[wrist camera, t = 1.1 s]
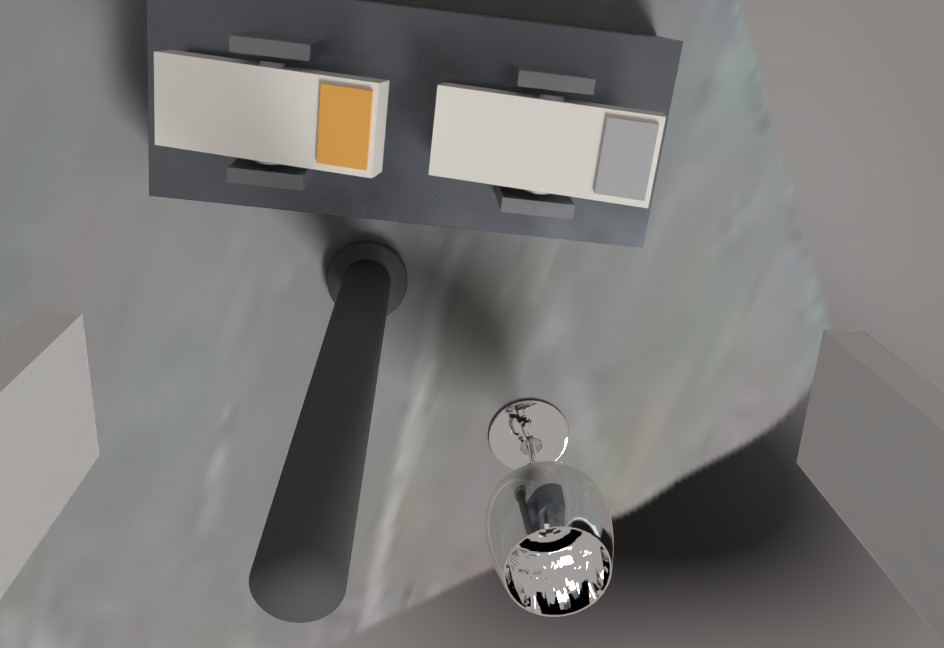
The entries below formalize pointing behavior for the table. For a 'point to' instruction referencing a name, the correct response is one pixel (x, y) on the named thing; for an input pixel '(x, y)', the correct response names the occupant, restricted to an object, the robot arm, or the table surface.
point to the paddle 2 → (545, 144)
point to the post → (329, 445)
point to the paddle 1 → (270, 112)
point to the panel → (411, 106)
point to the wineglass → (545, 516)
